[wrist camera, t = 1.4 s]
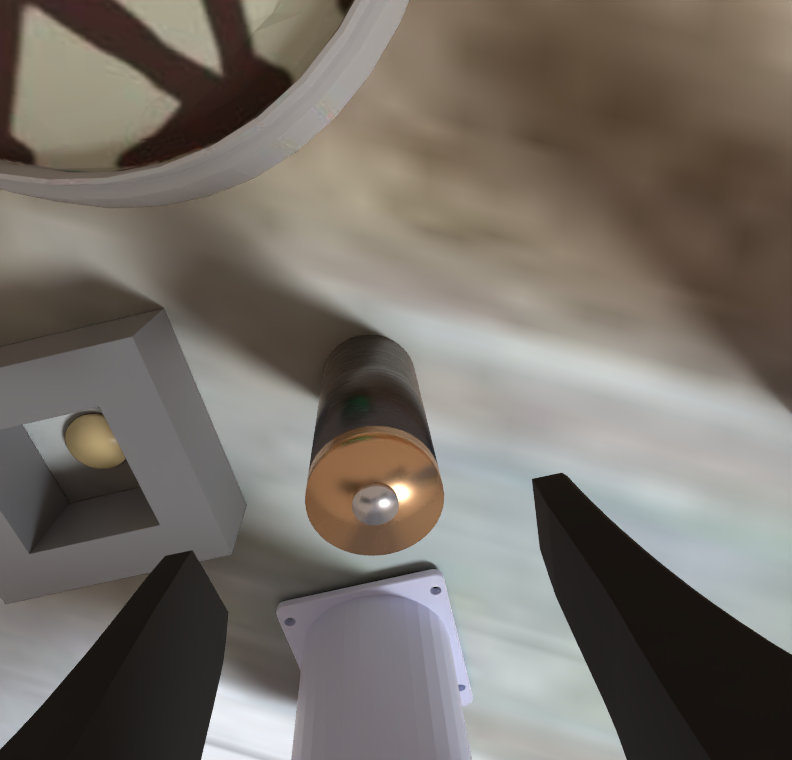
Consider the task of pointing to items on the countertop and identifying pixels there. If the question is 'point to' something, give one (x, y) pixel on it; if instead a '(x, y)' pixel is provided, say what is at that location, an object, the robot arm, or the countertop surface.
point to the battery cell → (372, 452)
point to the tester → (109, 459)
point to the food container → (173, 91)
